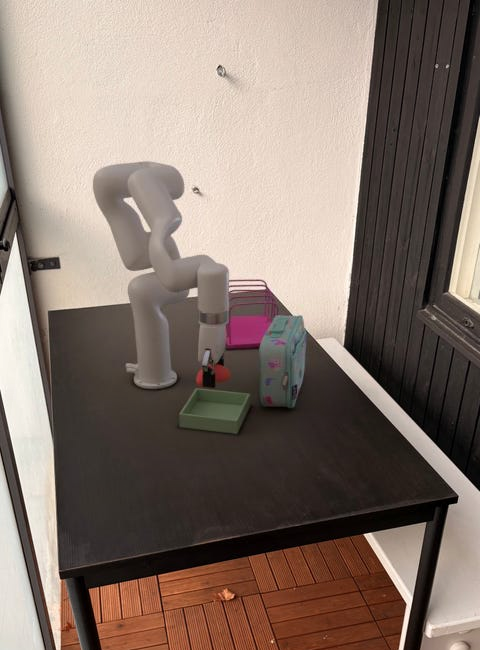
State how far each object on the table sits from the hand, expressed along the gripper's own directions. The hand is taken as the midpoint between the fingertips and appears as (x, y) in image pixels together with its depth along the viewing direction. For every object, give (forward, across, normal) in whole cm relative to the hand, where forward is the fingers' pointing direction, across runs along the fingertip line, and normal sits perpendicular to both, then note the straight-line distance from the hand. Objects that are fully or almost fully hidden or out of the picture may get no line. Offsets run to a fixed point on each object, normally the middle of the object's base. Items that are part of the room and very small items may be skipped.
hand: (213, 379), depth 166 cm
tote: (+11, +1, +1) cm, 11 cm away
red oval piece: (+1, 0, 0) cm, 1 cm away
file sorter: (+12, -58, -3) cm, 59 cm away
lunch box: (+11, -16, +16) cm, 25 cm away
